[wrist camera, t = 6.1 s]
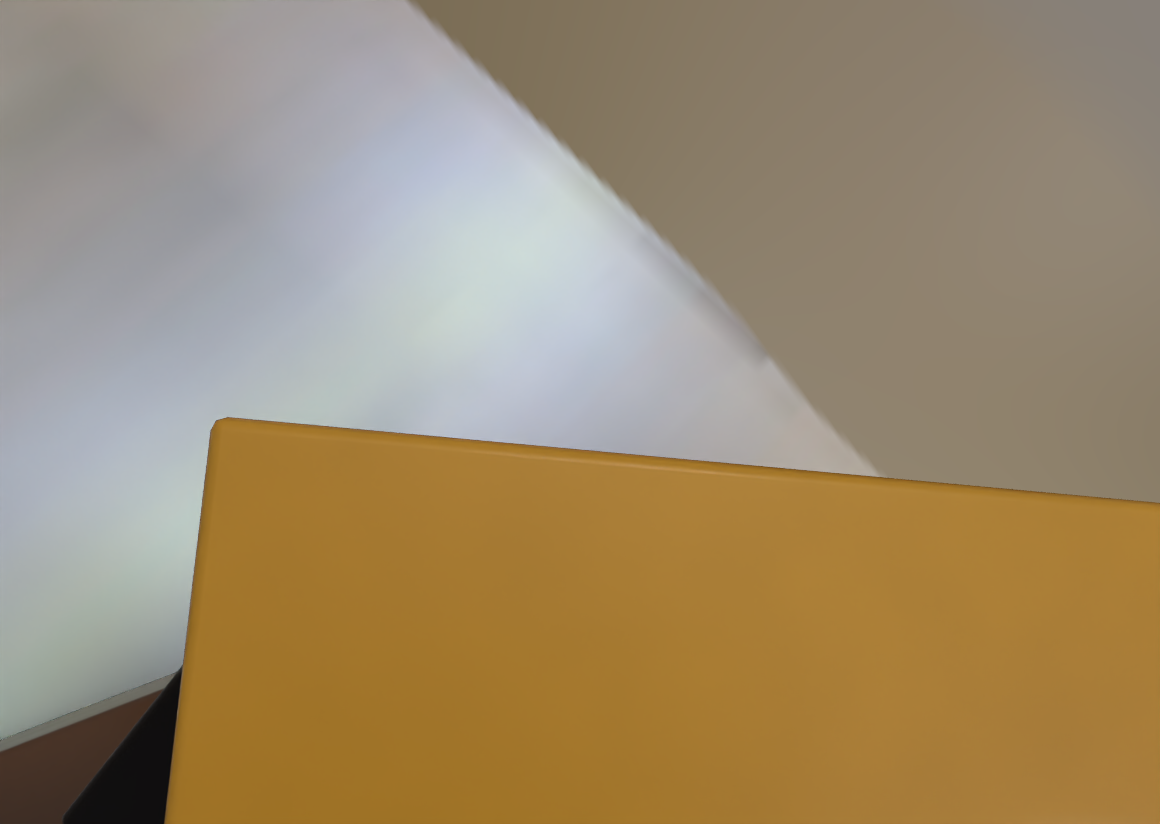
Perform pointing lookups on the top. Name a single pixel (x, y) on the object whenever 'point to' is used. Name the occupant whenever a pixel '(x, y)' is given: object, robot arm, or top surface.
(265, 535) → the block
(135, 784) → the robot arm
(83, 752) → the board stand
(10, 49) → the top surface
